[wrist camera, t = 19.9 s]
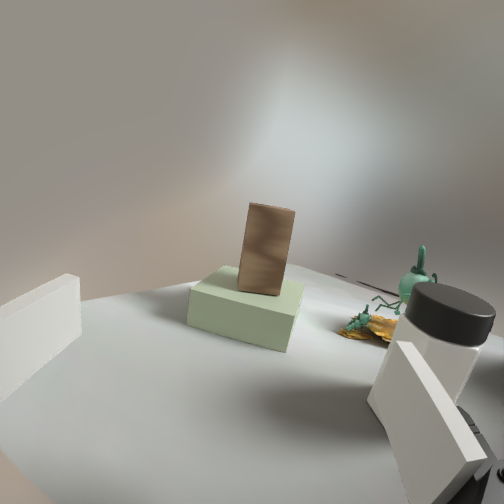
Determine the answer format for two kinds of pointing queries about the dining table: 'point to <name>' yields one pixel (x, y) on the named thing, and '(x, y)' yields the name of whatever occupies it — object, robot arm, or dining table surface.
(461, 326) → the jar
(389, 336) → the green insect figurine
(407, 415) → the robot arm
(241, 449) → the dining table surface
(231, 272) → the sage block
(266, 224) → the walnut block
